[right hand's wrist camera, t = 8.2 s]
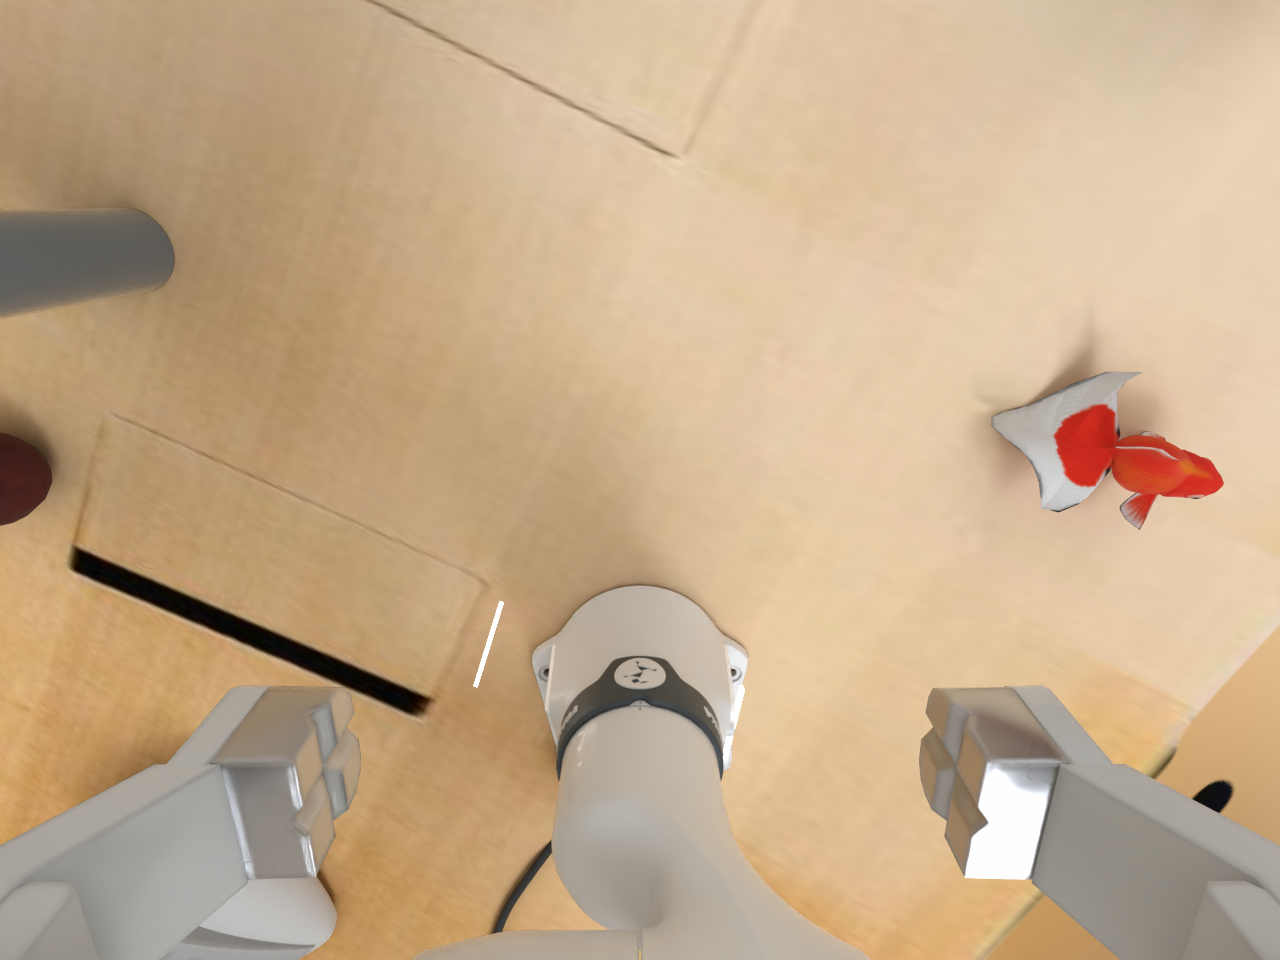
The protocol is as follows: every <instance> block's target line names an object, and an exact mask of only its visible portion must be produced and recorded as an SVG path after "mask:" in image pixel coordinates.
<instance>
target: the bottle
mask: <svg viewBox="0 0 1280 960" xmlns="http://www.w3.org/2000/svg"><path fill="white" fill-rule="evenodd" d="M173 266H174V253H173V248H172V245H171V242H170V240H169V238H168V236H167V234H166V233H165V231H164V230H163V228H162V227H161V226H160V225H159V224H158V223H157V222H156V221H155V220H153V219H152V218H151V217H149V216H148V215H146V214H145V213H142V212H140V211H137V210H134V209H130V208H84V209H19V210H0V319H4V318H9V317H14V316H20V315H25V314H30V313H36V312H41V311H47V310H52V309H57V308H63V307H68V306H73V305H79V304H84V303H90V302H95V301H100V300H106V299H111V298H116V297H122V296H127V295H132V294H138V293H143V292H148V291H153V290H155V289H157V288H159V287H161V286H162V285H163V284H165V282H166V281H167V280H168V279H169V277H170V275H171V273H172V270H173Z"/></svg>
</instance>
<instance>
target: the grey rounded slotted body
mask: <svg viewBox="0 0 1280 960" xmlns="http://www.w3.org/2000/svg"><path fill="white" fill-rule="evenodd" d="M336 921H337V912H336V908H335V906H334V904H333V902H332V900H331V898H330V896H329V895H328V893H327V891H326V890H325V888H324V887H323V885H322V883H321V882H320V881H319V879H318V878H317V876H316V877H315V878H282V879H248V884H247V885H246V886H244V887H243V888H242V889H241V890H240V891H239V892H237V893H236V894H235V895H234V896H233V897H232V898H231V899H229V900H228V901H227V902H226V903H225V904H224V905H222V906H221V907H220V908H219V909H218V910H217V911H216V912H214V913H213V914H212V915H211V916H210V917H209V918H207V919H206V920H205V921H204V922H203V923H202V924H200V925H199V926H198V927H197V928H196V929H195V930H194V931H192V932H191V933H190V934H189V935H188V936H187V937H185V938H184V939H183V940H182V941H181V942H180V943H179V944H177V945H176V946H175V947H174V948H173V949H172V950H170V951H169V952H168V953H167V954H166V955H165V956H164V957H162V958H161V959H160V960H299V959H300V958H301V957H303V956H305V955H306V954H308V953H310V952H312V951H313V950H315V949H316V948H318V947H319V946H321V945H322V944H323V943H325V942H326V941H327V940H328V939H329V938H330V936H331V935H332V933H333V931H334V928H335V925H336Z"/></svg>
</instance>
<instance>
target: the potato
mask: <svg viewBox="0 0 1280 960" xmlns="http://www.w3.org/2000/svg"><path fill="white" fill-rule="evenodd" d="M51 483H52V473H51V468H50V466H49V464H48V463H47V461H46V459H45V458H44V457H43V456H42V455H41V454H40V453H39V452H38V451H37V450H36V449H35V448H34V447H32V446H31V445H29V444H27V443H25V442H24V441H22V440H20V439H18V438H16V437H14V436H11V435H8V434H4V433H0V526H1V525H5V524H10V523H13V522H15V521H17V520H20V519H22V518H24V517H26V516H27V515H28V514H30V513H31V512H32V511H33V510H34V509H35V508H36V507H37V506H38V505H39V504H40V503H41V502H42V501H44V500H45V498H46V496H47V494H48V491H49V489H50V486H51Z"/></svg>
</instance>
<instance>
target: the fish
mask: <svg viewBox="0 0 1280 960" xmlns="http://www.w3.org/2000/svg"><path fill="white" fill-rule="evenodd" d="M1141 373H1143V372H1105V373H1102V374H1099V375H1096V376H1093V377H1091V378H1088V379H1085V380H1082V381H1079V382H1076V383H1074V384H1071V385H1068V386H1066V387H1064V388H1062V389H1060V390H1058V391H1056V392H1054V393H1052V394H1050V395H1048V396H1046V397H1044V398H1042V399H1040V400H1038V401H1036V402H1034V403H1032V404H1030V405H1028V406H1024V407H1020V408H1015V409H1012V410H1008V411H1005V412H1002V413H999V414H996V415H994V416H993V417H991V421H992V427H993V428H994V429H995V430H996V431H997V432H998V433H1000V434H1001V435H1002V436H1003V437H1005V438H1006V439H1007V440H1008V441H1009V442H1010V443H1012V444H1013V445H1014V446H1015V447H1016V448H1018V449H1019V450H1020V451H1021V452H1023V453H1024V454H1025V455H1026V456H1027V458H1028V459H1029V461H1030V462H1031V464H1032V466H1033V467H1034V470H1035V473H1036V476H1037V478H1038V481H1039V487H1040V495H1041V507H1042V508H1043V509H1047V510H1051V511H1056V512H1061V511H1063V510H1065V509H1068V508H1070V507H1073V506H1075V505H1077V504H1079V503H1080V502H1081V501H1083V500H1084V499H1085V498H1086V497H1088V496H1089V495H1090V494H1091V492H1092V491H1093V490H1094V489H1095V488H1096V487H1097V486H1098V485H1099V483H1100V482H1101V481H1102V480H1103V479H1104V477H1105V476H1106V475H1107V474H1108V473H1109V471H1112V474H1113V476H1114V478H1115V480H1116V481H1117V482H1118V483H1119V484H1120V485H1121V486H1122V487H1123V488H1125V489H1127V490H1129V491H1132V492H1136V493H1135V494H1134V495H1132V496H1131V497H1130V498H1128V499H1127V500H1126V501H1125V502H1124V503H1123V504H1122V505H1121V506H1120V510H1121V512H1122V514H1123V516H1124V517H1125V519H1126V520H1127V521H1129V522H1130V523H1131V524H1132V525H1134V526H1135V527H1136V528H1138V529H1140V528H1141V526H1142V525H1143V523H1144V521H1145V519H1146V517H1147V515H1148V513H1149V511H1150V509H1151V506H1152V504H1153V502H1154V500H1155V499H1156V497H1157V495H1158V494H1160V495H1162V496H1166V497H1184V498H1192V499H1199V498H1202V497H1204V496H1207V495H1209V494H1212V493H1215V492H1217V491H1218V490H1219V489H1220V488H1221V487H1222V486H1223V484H1224V482H1223V480H1222V477H1221V475H1220V474H1219V473H1218V471H1217V470H1216V468H1215V466H1214V465H1213V463H1212V462H1211V460H1209V459H1207V458H1204V457H1200V456H1198V455H1196V454H1193V453H1191V452H1188V451H1186V450H1181V449H1179V448H1178V447H1176V446H1175V445H1173V444H1171V443H1169V442H1166V440H1165V438H1163V437H1161V436H1159V435H1158V434H1156V433H1154V432H1148V431H1146V432H1144V433H1141V434H1140V435H1133V436H1128V437H1126V438H1123V439H1121V440H1120V441H1118V439H1119V437H1120V430H1119V424H1118V419H1117V391H1118V390H1119V389H1120V388H1121V387H1122V386H1123V385H1124V384H1125V383H1126V382H1127V381H1128V380H1130V379H1131V378H1133V377H1134V376H1136V375H1138V374H1141Z"/></svg>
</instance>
